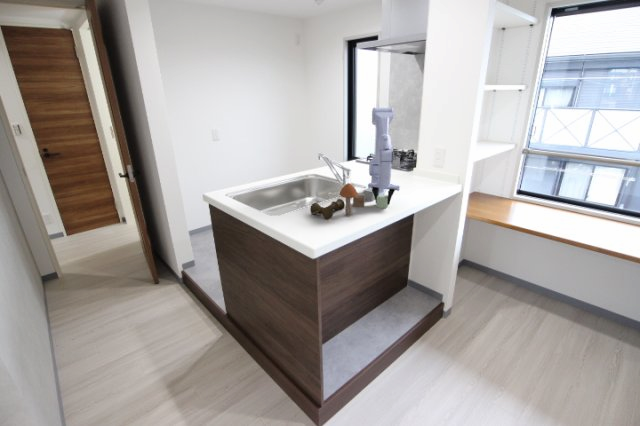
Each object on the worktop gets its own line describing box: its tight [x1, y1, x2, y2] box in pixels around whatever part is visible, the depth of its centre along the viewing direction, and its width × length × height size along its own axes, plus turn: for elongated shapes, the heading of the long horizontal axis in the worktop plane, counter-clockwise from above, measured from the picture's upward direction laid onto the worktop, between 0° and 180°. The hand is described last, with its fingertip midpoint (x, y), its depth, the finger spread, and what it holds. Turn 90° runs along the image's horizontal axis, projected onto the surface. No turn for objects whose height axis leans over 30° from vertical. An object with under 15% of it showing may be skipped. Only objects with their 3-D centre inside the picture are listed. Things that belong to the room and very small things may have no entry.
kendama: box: [309, 198, 346, 220], centre depth 144 cm, size 6×10×20 cm
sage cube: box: [375, 194, 389, 209], centre depth 153 cm, size 5×5×5 cm
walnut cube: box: [352, 193, 365, 208], centre depth 154 cm, size 5×5×5 cm
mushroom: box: [339, 183, 359, 217], centre depth 140 cm, size 8×8×15 cm
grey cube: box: [363, 187, 376, 202], centre depth 162 cm, size 5×5×5 cm
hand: (382, 203), depth 153 cm, fingers closed on sage cube, 5 cm apart
